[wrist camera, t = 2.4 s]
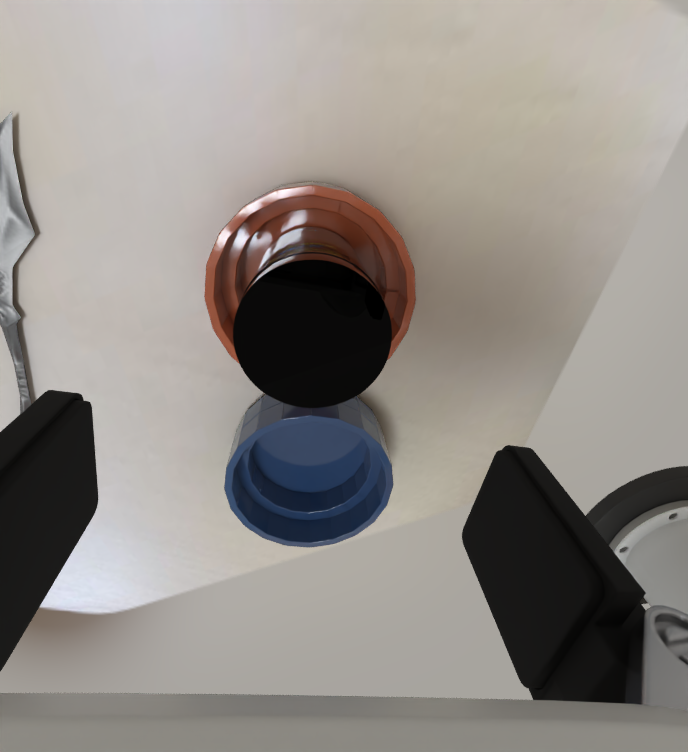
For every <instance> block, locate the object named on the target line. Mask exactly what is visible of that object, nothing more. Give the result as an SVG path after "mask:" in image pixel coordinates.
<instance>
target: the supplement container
mask: <svg viewBox="0 0 688 752" xmlns="http://www.w3.org/2000/svg"><path fill="white" fill-rule="evenodd" d="M233 342H234V348H235V353H236V356H237V359H238V361H239V363H240V365H241V367H242V369H243V371H244V372H245V374H246V375H247V376H248V378H249V379H250V380H251V381H252V382H253V384H254V385H255V386H257V387H258V388H259V389H260V390H261V391H263V392H264V393H265V394H267V395H268V396H270V397H272V398H273V399H276V400H278V401H280V402H282V403H285V404H288V405H292V406H296V407H302V408H323V407H329V406H334V405H337V404H340V403H343V402H346V401H348V400H350V399H352V398H354V397H355V396H357V395H359V394H360V393H361V392H363V391H364V390H365V389H366V388H368V387H369V386H370V385H371V384H372V383H373V382H374V380H375V379H376V378H377V377H378V375H379V374H380V372H381V371H382V369H383V368H384V365H385V363H386V361H387V359H388V356H389V352H390V348H391V342H392V326H391V320H390V316H389V312H388V309H387V307H386V305H385V303H384V301H383V298H382V296H381V294H380V292H379V290H378V288H377V287H376V285H375V283H374V282H373V281H372V279H371V278H370V277H369V275H368V273H367V271H366V269H365V267H364V265H363V264H362V262H361V260H360V258H359V256H358V255H357V253H356V251H355V250H354V249H353V247H352V246H351V245H350V244H349V243H348V242H347V241H346V240H345V239H344V238H342V237H341V236H339V235H338V234H336V233H334V232H332V231H329V230H326V229H323V228H317V227H304V228H298V229H295V230H292V231H289V232H287V233H285V234H283V235H282V236H280V237H279V238H278V239H276V240H275V241H274V242H273V243H272V244H271V245H270V247H269V248H268V249H267V251H266V252H265V254H264V256H263V258H262V260H261V262H260V264H259V266H258V269H257V271H256V273H255V275H254V277H253V279H252V281H251V282H250V283H249V285H248V287H247V288H246V290H245V292H244V294H243V296H242V299H241V302H240V304H239V306H238V309H237V312H236V315H235V319H234V325H233Z"/></svg>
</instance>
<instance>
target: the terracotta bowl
mask: <svg viewBox="0 0 688 752" xmlns="http://www.w3.org/2000/svg"><path fill="white" fill-rule="evenodd" d="M304 227H317V228H323V229H326V230H329V231H332V232H334V233H336V234H338V235H339V236H341V237H342V238H344V239H345V240H346V241H347V242H348V243H349V244H350V245H351V246H352V247H353V249H354V250H355V251H356V253H357V255H358V256H359V258H360V260H361V262H362V264H363V265H364V267H365V269H366V271H367V273H368V275H369V277H370V278H371V279H372V281H373V282H374V283H375V285H376V287H377V288H378V290H379V292H380V294H381V296H382V298H383V301H384V303H385V305H386V307H387V309H388V312H389V316H390V320H391V326H392V342H391V348H390V352H389V356H388V359H389V358H390V357H391V356H392V354H393V353H394V351H395V350H396V348H397V347H398V345H399V344H400V342H401V341H402V339H403V337H404V336H405V334H406V333H407V331H408V328H409V324H410V320H411V317H412V313H413V310H414V306H415V301H416V295H415V272H414V267H413V264H412V262H411V259H410V256H409V254H408V251H407V248H406V246H405V243H404V241H403V239H402V237H401V235H400V234H399V233H398V232H397V231H396V229H395V228H394V227H393V226H392V225H391V223H390V222H389V221H388V220H387V219H386V217H385V216H384V215H383V214H382V212H380V211H379V210H378V209H377V208H375V207H373V206H372V205H370V204H369V203H367V202H366V201H364V200H362V199H361V198H359V197H357V196H356V195H354V194H353V193H351V192H349V191H348V190H346V189H344V188H342V187H338V186H333V185H328V184H324V183H319V182H314V181H313V182H312V181H309V182H301V183H294V184H286V185H282V186H279V187H277V188H275V189H273V190H271V191H269V192H267V193H265V194H263V195H261V196H260V197H258V198H256V199H254V200H253V201H251V202H249V203H248V204H246V205H245V206H244V207H243V208H242V209H241V210H240V211H239V212H238V213H237V214H236V215H235V216H234V217H233V218H232V220H231V221H230V222H229V223H228V224H227V225H226V226H225V227H224V228H223V229H222V230H221V232H220V233H219V235H218V238H217V240H216V242H215V245H214V247H213V250H212V252H211V254H210V257H209V259H208V262H207V265H206V280H205V302H206V305H207V309H208V313H209V316H210V320H211V324H212V327H213V329H214V331H215V333H216V335H217V336H218V338H219V339H220V341H221V342H222V344H223V345H224V347H225V348H226V350H227V351H228V353H229V355H230V356H231V357H232V358H233V359H235V360H236V361H237V362H238V363H239V361H238V359H237V356H236V353H235V348H234V342H233V325H234V319H235V315H236V312H237V309H238V306H239V304H240V302H241V299H242V296H243V294H244V292H245V290H246V288H247V287H248V285H249V283H250V282H251V281H252V279H253V277H254V275H255V273H256V271H257V269H258V266H259V264H260V262H261V260H262V258H263V256H264V254H265V252H266V251H267V249H268V248H269V247H270V245H271V244H272V243H273V242H274V241H275V240H276V239H278V238H279V237H280V236H282V235H283V234H285V233H287V232H289V231H292V230H295V229H298V228H304ZM388 359H387V360H388ZM239 364H240V363H239Z"/></svg>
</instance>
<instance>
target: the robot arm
mask: <svg viewBox="0 0 688 752" xmlns="http://www.w3.org/2000/svg"><path fill="white" fill-rule="evenodd" d="M97 504H98V487H97V473H96V459H95V445H94V431H93V417H92V407H91V404H90V402H88V401H84V400H83V397H82V395H81V394H79V393H71V392H62V391H54V390H48V391H47V392H45V393H44V394H43V395H42V396H40V397H39V398H38V399H37V400H36V401H35V402H34V403H33V404H31V405H30V406H29V407H28V408H27V409H26V410H25V411H24V412H22V413H21V414H20V415H19V416H18V417H17V418H16V419H15V420H14V421H12V422H11V423H10V424H9V425H8V426H7V427H6V428H5V429H3V430H2V431H1V432H0V671H1V670H2V668H3V667H4V665H5V664H6V662H7V660H8V658H9V657H10V655H11V654H12V652H13V650H14V648H15V647H16V645H17V643H18V642H19V640H20V638H21V637H22V635H23V633H24V631H25V630H26V628H27V627H28V625H29V623H30V622H31V620H32V618H33V617H34V615H35V613H36V611H37V610H38V608H39V606H40V605H41V603H42V601H43V600H44V598H45V596H46V595H47V593H48V591H49V590H50V588H51V586H52V585H53V583H54V581H55V580H56V578H57V576H58V574H59V573H60V571H61V569H62V568H63V566H64V564H65V563H66V561H67V559H68V558H69V556H70V554H71V553H72V551H73V549H74V548H75V546H76V544H77V542H78V541H79V539H80V537H81V536H82V534H83V532H84V531H85V529H86V527H87V526H88V524H89V522H90V521H91V519H92V517H93V515H94V513H95V511H96V508H97ZM462 540H463V544H464V547H465V549H466V552H467V554H468V557H469V559H470V561H471V564H472V566H473V569H474V571H475V574H476V576H477V578H478V581H479V583H480V585H481V588H482V590H483V593H484V595H485V598H486V600H487V602H488V605H489V607H490V610H491V612H492V615H493V617H494V619H495V622H496V624H497V627H498V629H499V631H500V634H501V636H502V639H503V641H504V644H505V646H506V648H507V651H508V653H509V656H510V658H511V660H512V663H513V665H514V667H515V670H516V673H517V675H518V677H519V679H520V681H521V683H522V684H523V685H524V686H525V687H526V688H529V691H530V693H531V695H532V698H533V700H510V699H509V700H508V699H463V698H419V697H415V698H414V697H363V696H362V697H361V696H299V695H235V694H234V695H233V694H230V695H229V694H143V693H142V694H141V693H140V694H139V693H0V752H688V500H683V501H676V502H671V503H667V504H664V505H661V506H658V507H655V508H653V509H651V510H649V511H647V512H645V513H643V514H641V515H640V516H638V517H636V518H635V519H633V520H632V521H631V522H629V523H628V524H627V525H626V526H624V527H623V528H622V529H621V530H620V531H619V532H618V533H617V535H616V536H615V537H614V539H613V540H612V541H611V543H610V545H608V544H607V543H606V542H605V540H604V539H603V538H602V537H601V535H600V534H599V533H598V531H597V530H596V529H595V528H594V526H593V525H592V524H591V523H590V521H589V520H588V519H587V518H586V516H585V515H584V514H583V512H582V511H581V510H580V509H579V508H578V506H577V505H576V504H575V502H574V501H573V500H572V499H571V497H570V496H569V495H568V494H567V492H566V491H565V490H564V488H563V487H562V486H561V485H560V484H559V482H558V481H557V480H556V479H555V477H554V476H553V475H552V473H551V472H550V471H549V469H548V468H547V467H546V466H545V464H544V463H543V462H542V461H541V459H540V458H539V457H538V456H537V455H536V453H535V452H534V451H533V450H532V449H531V448H526V447H518V446H510V445H508V446H505V447H504V448H503V449H502V450H500V451H498V452H496V454H495V456H494V458H493V461H492V463H491V465H490V468H489V470H488V472H487V475H486V477H485V479H484V481H483V484H482V486H481V488H480V491H479V493H478V495H477V498H476V500H475V502H474V505H473V507H472V509H471V512H470V514H469V516H468V519H467V521H466V524H465V526H464V528H463V532H462ZM643 597H644V598H645V600H646V601H647V602H648V603H649V605H650V606H651V607H650V608H649V609H647V610H645V609H644V608H643V606H642V605H641V604H640V601H641V599H642V598H643Z"/></svg>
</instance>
